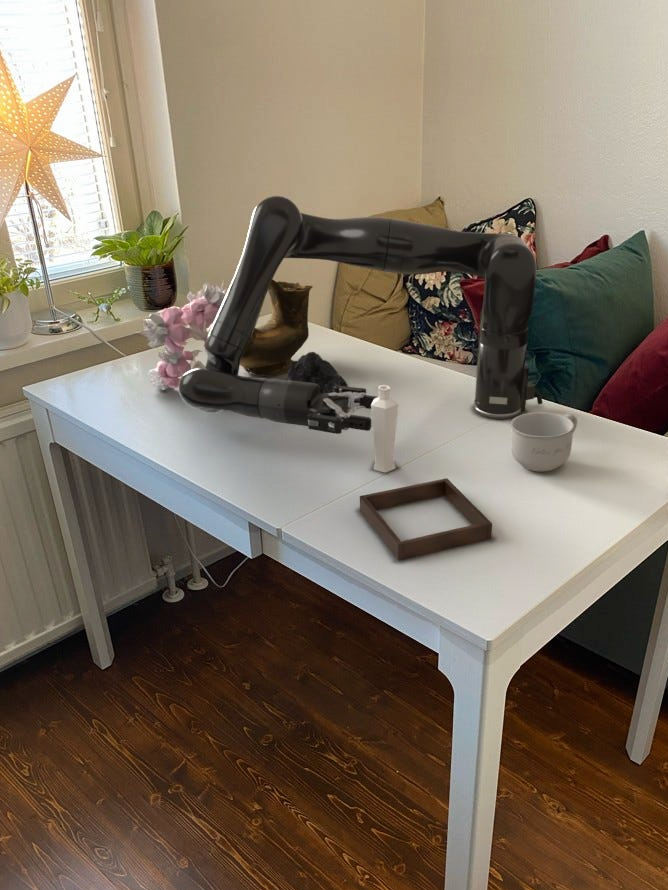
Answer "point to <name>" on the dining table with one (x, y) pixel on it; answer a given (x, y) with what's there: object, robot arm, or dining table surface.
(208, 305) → the flower
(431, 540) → the walnut frame
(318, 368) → the crystal cluster
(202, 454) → the dining table surface
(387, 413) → the perfume bottle
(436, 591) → the dining table surface
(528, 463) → the teacup
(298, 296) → the pottery vessel
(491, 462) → the dining table surface
